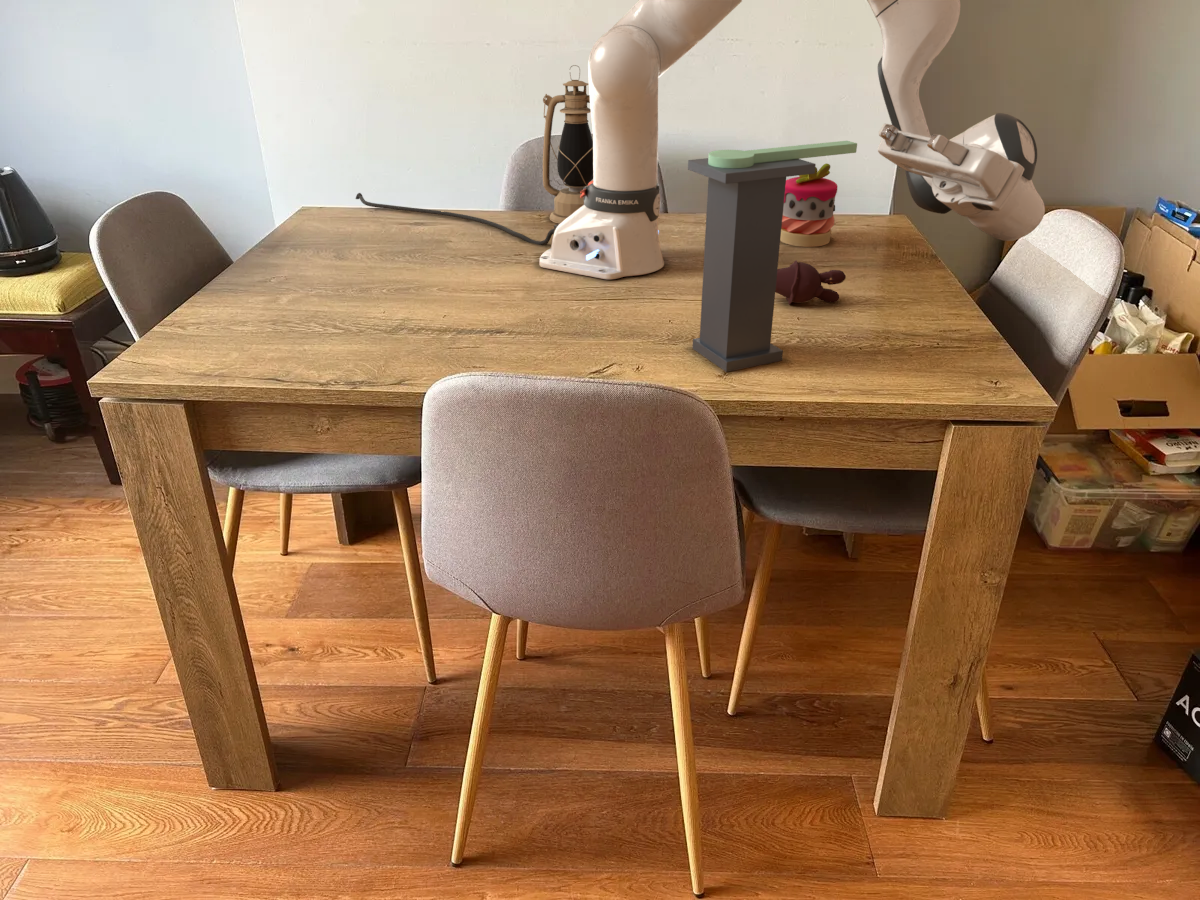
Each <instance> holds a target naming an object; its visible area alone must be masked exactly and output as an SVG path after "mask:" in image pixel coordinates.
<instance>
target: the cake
mask: <svg viewBox="0 0 1200 900" xmlns="http://www.w3.org/2000/svg"><path fill="white" fill-rule="evenodd" d="M830 169H831V164H830V163H828V162H827V163H824V164H823V165H821V167H820V168H819V169H818V167H816V166H815V173H814V174H806V175H798V176H795V177H790V178H788V179H786V186H785V196H784V207H783V217H782V227H781V238H780V243H783V244H786V245H790V246H794V247H803V248H804V247H807V248H812V247H821V246H825V245H828V244H829V243H830V241H831V234H832V228H833V226H835V215H834V212H836V204H835V203H836V202H835V201H836V196H837V193H838V188H839V187H838V184H837V182H835V181H834V180H831V179H829V178H826V177H827V176H828V175H830V173H831V172H830Z"/></svg>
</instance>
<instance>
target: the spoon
mask: <svg viewBox="0 0 1200 900" xmlns="http://www.w3.org/2000/svg"><path fill="white" fill-rule="evenodd" d="M857 149H858V143H857V142H854V141H850V140H839V141H828V142H818V143H810V144H809V143H807V144H797V145H789V146H778V147H769V148H768V147H767V148H760V149H748V150H743V149H741V150H740V149H718V150H713V151H710V152H708V154H707V155H708V156H707V158H708V164H709V165H711V166H713V167H718V168H729V169H738V168H747V167H751V166H753V165H754V163H764V162H773V161H783V160H792V159H801V160H802V159H809V158H820V157H829V156H837V155H848V154H856V153H857Z"/></svg>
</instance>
